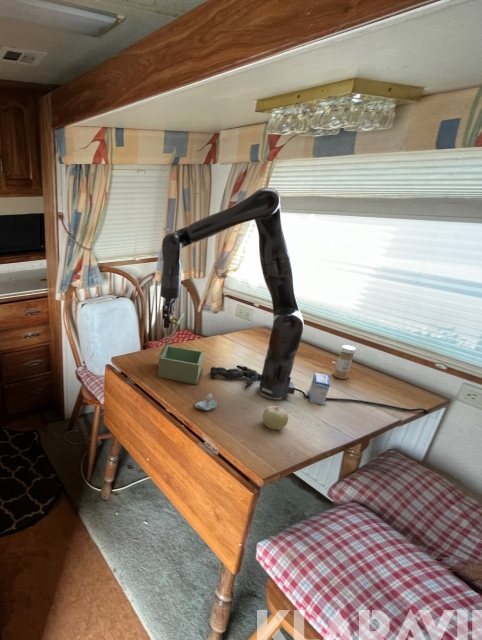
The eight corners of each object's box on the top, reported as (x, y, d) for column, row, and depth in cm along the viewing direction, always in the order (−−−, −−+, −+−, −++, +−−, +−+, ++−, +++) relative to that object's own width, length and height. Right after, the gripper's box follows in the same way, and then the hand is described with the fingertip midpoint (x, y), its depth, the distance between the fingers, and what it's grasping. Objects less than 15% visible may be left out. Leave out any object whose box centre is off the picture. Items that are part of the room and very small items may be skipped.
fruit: (288, 435, 114) (293, 414, 111) (262, 431, 116) (267, 410, 112) (282, 421, 120) (287, 401, 117) (258, 417, 122) (263, 397, 119)
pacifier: (191, 406, 129) (203, 414, 124) (192, 391, 127) (205, 398, 122) (205, 400, 132) (218, 408, 127) (207, 386, 130) (220, 393, 125)
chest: (201, 369, 154) (203, 351, 151) (196, 384, 143) (198, 365, 139) (165, 363, 160) (166, 345, 157) (157, 376, 149) (159, 357, 146)
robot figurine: (213, 388, 141) (268, 391, 137) (214, 378, 140) (270, 381, 136) (208, 367, 157) (257, 370, 153) (209, 358, 156) (258, 361, 152)
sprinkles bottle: (345, 375, 149) (355, 346, 143) (347, 380, 145) (356, 350, 140) (332, 373, 151) (341, 344, 145) (333, 377, 147) (342, 348, 142)
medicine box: (308, 391, 137) (314, 372, 134) (322, 394, 135) (328, 374, 132) (309, 402, 131) (315, 381, 127) (324, 405, 129) (330, 384, 125)
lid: (184, 313, 148) (173, 308, 149) (178, 324, 137) (166, 318, 138) (167, 344, 157) (157, 339, 158) (160, 357, 145) (149, 351, 146)
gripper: (176, 290, 132) (173, 332, 139) (183, 281, 144) (180, 320, 151) (156, 288, 135) (154, 330, 142) (165, 280, 147) (162, 318, 154)
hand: (167, 325), depth 146 cm, fingers closed on lid, 5 cm apart
